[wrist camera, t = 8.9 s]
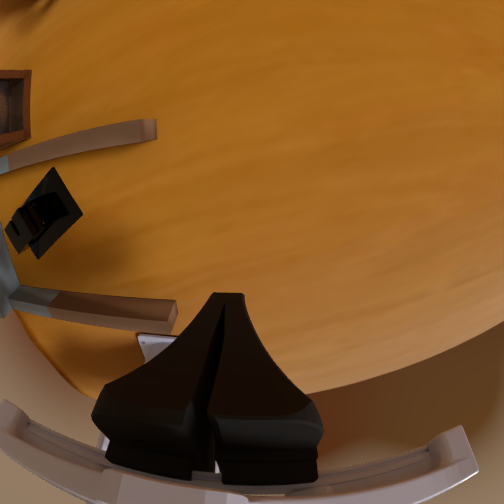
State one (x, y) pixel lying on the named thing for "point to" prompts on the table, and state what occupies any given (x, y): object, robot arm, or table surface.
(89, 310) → the bay
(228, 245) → the table surface
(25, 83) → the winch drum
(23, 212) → the black holder block
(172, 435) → the robot arm
